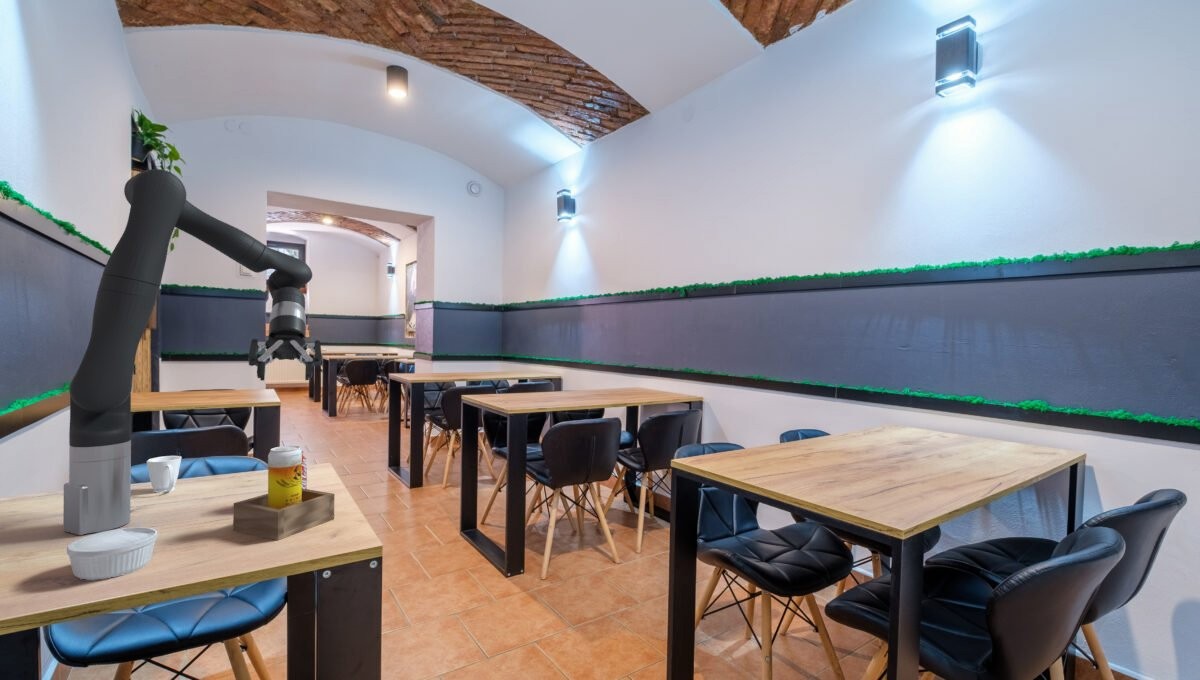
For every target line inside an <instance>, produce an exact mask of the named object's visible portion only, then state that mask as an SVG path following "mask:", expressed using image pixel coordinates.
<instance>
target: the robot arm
mask: <svg viewBox="0 0 1200 680" xmlns="http://www.w3.org/2000/svg"><path fill="white" fill-rule="evenodd" d="M123 194H124V197H125V199H126V201H127V202H128V204H129V205H130V209H129V213H128V218H127V222H126V226H125V228H124V231H123V234H122V235H121V237H120V238H119V240H118V241H117V243H116V245H115V247H114V249H113V251H112V252H111V254H110V256H109V258H108V259H107V262H106V264H105V267H104V269H103V272H102V275H101V279H100V282H99V286H98V289H97V292H96V296H95V297H96V298H95V301H94V308H93V316H92V325H91V333H90V337H89V341H88V345H87V348H86V350H85V353H84V355H83V357H82V360H81V362H80V364H79V367H78V369H77V370H76V372H75V375H74V376H73V378H72V380H71V381H70V384H69V388H68V391H69V396H70V397H69V432H68V440H69V441H68V442H69V443H68V445H69V446H68V449H69V453H68V454H69V460H68V461H69V462H68V472H69V473H68V482H66V483H64V484H63V527H62V528H63V530H64V531H63V530H62V531H63V532H67V533H69V532H70V534H73V535H77V536H83V535H86V534H95V533H100V532H104V531H109V530H115V529H118V528H120V527H123V526H125V525H127V524H129V523H130V522H131V512H132V511H131V487H132V483H131V482H132V480H131V479H132V477H131V476H132V467H131V466H132V465H131V464H132V462H131V461H132V456H131V455H132V449H131V448H132V417H131V415H132V412H131V411H132V407H131V406H132V391H133V390H132V388H133V377H134V367H135V363H136V357H137V351H138V347H139V344H140V342H141V339H142V337H143V335H144V333H145V331H146V328H147V326H148V324H149V322H150V319H151V316H152V314H153V312H154V308H155V305H156V302H157V299H158V295H159V292H160V288H161V284H162V280H163V275H164V271H165V266H166V261H167V256H168V252H169V251H168V250H169V246H170V241H171V238H172V235H173V232H174V230H175V228H176V229H178V230H180V231H182V232H184V233H186V234H188V235H190V236H192V237H193V238H196V239H198V240H200V241H201V242H203V243H205V244H206V245H207V246H210V247H211V248H213V249H215V250H217V251H218V252H220V253H221V254H223V255H225V256H226V257H228V258H229V259H231V260H232V261H235V262H236V263H238V264H240V265H241V266H243V267H245V268H246V269H248V270H250V271H252V272H254V273H258V274H259V273H262V272H265V271H268V270H274V271H273V272H272V273H271V274H270V275H269V276H268V278H267V288H268V291H269V294H270V296H271V298H272V303H271V311H270V314H269V323H268V335H267V337H268V339H267V340H266V341H259V340H258V339H257V338H253V339H251V343H250V346H249V353H248V357H247V358H248V359H247V360H248V366H250V367H253V366H255V367H256V377H257V379H260V381H265V378H266V377H265V375H266V366H268V365H269V364H272V362H275V360H276V359H278V360H279V361H280V360H281V361H284V360H289V361H294V360H295V359H296V360H297V361H298V362H299V363H300V364H303V365H304V366H305V376H304V377H305V378H304V379H305V381H309V380H310V379H312V377H313V370H314V369H313V367H320V366H322V360H323V359H322V358H323V357H322V356H323V355H322V345H321V341H320V340H318V339H316V340H314V342H307V340H306V336H307V335H306V331H307V329H306V327H307V323H306V322H307V318H306V316H307V315H306V297H305V294H304V293H303V291H302V290H301V289H302V288H303V287H305V286H306V285H307V284H308V283H310V281H311V280H312V279H313V272H312V269H311V267H310V266H309V265H308V264H307V263H306V262H305V261H303V260H301V259H299V258H298V257H295V256H293V255H289V254H287V253H284V252H282V251H279V250H277V249H273V248H271V247H269V246H268V245H266V244H264V243H263V242H261V241H260V240H258V239H256V238H255V237H253V236H251V234H248V233H247V232H245V231H243V230H242V229H239V228H237V227H235V226H234V225H231V224H229V223H227V222H225V221H222V220H219V219H218V218H216V217H214V216H212V215H210V214H208V213H206V212H205V211H204V210H201V209H200V208H198V207H197V206H195V205H194V204H192V203H191V202H190V201H188V200H187V189H186V187H185V185H184V183H183V182H182V180H181V179H180V178H179V177H178V176H177V175H175V174H174V173H172V172H171V171H168V170H165V169H160V168H158V169H157V168H154V169H153V168H152V169H147V170H143V171H141V172H139V173H137V174H135V175H133V176H132V177H131V178H129V179H128V180H127V181H126V183H125V185H124V189H123ZM263 349H266V350H265V351H264V353H263V354H262V355H260V356H259V357H258V353H259V352H261V351H262V350H263ZM308 349H309V350H310V351H311V352H312V353H314V357H311V355H310V354H308V351H307V350H308Z"/></svg>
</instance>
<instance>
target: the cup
mask: <svg viewBox="0 0 1200 680" xmlns="http://www.w3.org/2000/svg"><path fill="white" fill-rule="evenodd" d="M181 463H182V456H181V455H180V456H179V455H165V456H163V455H162V456H157V457H152V458H149V459H148V460H146V466H147V471H148V476H149V481H150V484H151V487H152V488H153V491H152V492H153V493H154V492H156V493H155V494H159V493H160V492H163V493H167V494H168V493H170V492H172V491H174V490H176V487H175V485H176V484H177V481H178V477H179V472H180V467H181Z"/></svg>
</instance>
